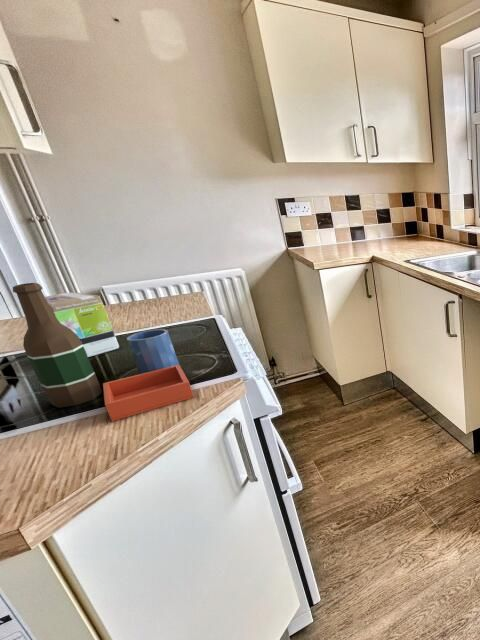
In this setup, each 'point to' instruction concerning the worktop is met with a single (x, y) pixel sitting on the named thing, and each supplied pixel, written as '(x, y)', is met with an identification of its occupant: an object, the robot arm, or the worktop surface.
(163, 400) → the red tray
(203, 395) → the worktop surface
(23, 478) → the worktop surface
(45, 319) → the beer bottle
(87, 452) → the worktop surface
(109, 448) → the worktop surface
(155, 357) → the blue cup
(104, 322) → the tea box
